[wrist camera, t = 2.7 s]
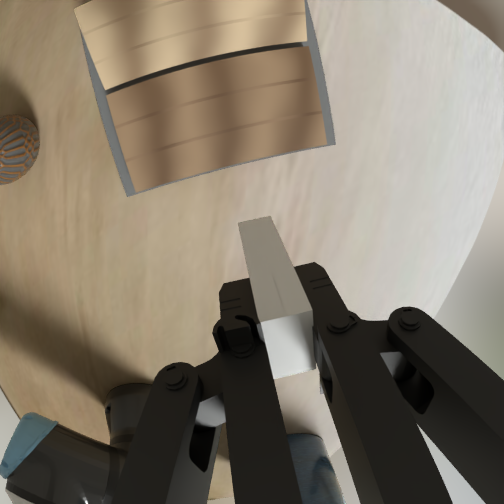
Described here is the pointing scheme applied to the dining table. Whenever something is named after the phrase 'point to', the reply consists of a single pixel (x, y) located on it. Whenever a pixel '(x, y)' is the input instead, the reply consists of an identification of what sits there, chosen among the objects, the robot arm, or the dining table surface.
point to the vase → (17, 147)
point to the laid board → (218, 115)
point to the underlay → (102, 93)
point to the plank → (181, 32)
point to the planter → (314, 470)
